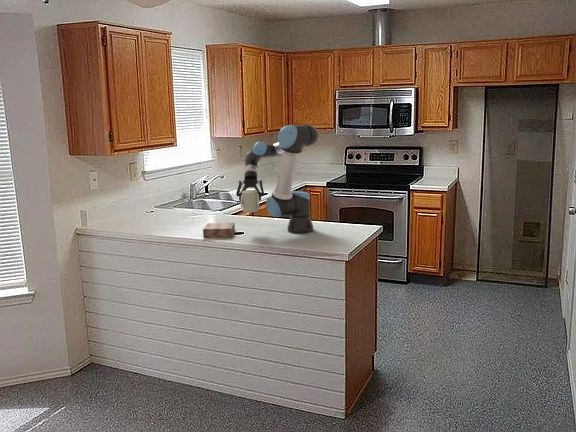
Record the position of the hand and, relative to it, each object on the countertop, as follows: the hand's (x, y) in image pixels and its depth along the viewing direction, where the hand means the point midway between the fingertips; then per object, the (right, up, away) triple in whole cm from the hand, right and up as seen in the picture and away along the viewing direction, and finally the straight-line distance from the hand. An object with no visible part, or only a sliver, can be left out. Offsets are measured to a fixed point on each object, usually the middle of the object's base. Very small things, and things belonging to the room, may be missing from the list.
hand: (249, 205), depth 321 cm
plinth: (-18, -17, +5) cm, 25 cm away
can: (0, -4, +4) cm, 5 cm away
